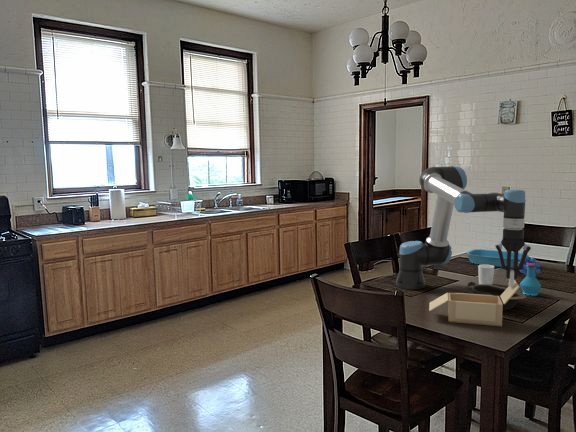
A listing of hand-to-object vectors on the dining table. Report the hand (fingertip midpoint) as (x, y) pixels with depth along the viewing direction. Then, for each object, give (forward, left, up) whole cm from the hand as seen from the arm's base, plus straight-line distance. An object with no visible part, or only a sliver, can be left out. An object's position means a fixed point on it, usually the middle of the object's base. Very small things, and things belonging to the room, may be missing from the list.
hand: (511, 286), depth 186 cm
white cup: (-4, +60, -15) cm, 62 cm away
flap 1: (-28, 0, -8) cm, 29 cm away
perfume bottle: (+15, +47, -15) cm, 51 cm away
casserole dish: (+7, +113, -16) cm, 115 cm away
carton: (-14, 0, -15) cm, 20 cm away
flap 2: (-1, 0, -2) cm, 2 cm away
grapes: (+20, +82, -15) cm, 85 cm away
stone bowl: (-3, +24, -15) cm, 28 cm away
